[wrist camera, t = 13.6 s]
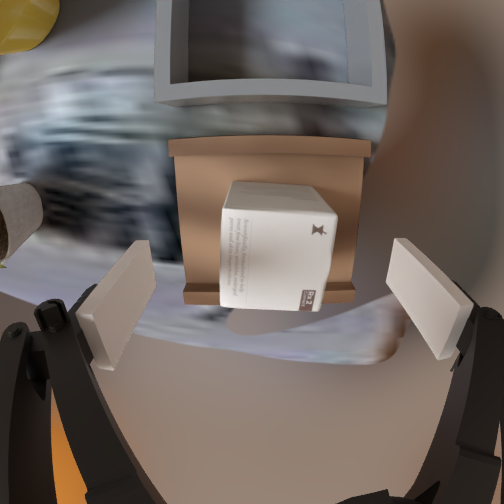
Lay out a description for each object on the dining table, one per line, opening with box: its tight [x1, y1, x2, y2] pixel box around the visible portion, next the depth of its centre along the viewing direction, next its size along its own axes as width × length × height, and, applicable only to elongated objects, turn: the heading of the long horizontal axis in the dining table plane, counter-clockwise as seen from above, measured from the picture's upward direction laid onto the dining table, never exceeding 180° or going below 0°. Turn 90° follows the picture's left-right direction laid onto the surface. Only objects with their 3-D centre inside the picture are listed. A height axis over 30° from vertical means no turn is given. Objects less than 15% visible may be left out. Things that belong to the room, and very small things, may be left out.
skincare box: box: [220, 181, 338, 311], centre depth 19 cm, size 6×6×7 cm
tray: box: [168, 135, 371, 305], centre depth 22 cm, size 13×14×2 cm
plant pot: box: [0, 0, 60, 55], centre depth 11 cm, size 10×10×10 cm
